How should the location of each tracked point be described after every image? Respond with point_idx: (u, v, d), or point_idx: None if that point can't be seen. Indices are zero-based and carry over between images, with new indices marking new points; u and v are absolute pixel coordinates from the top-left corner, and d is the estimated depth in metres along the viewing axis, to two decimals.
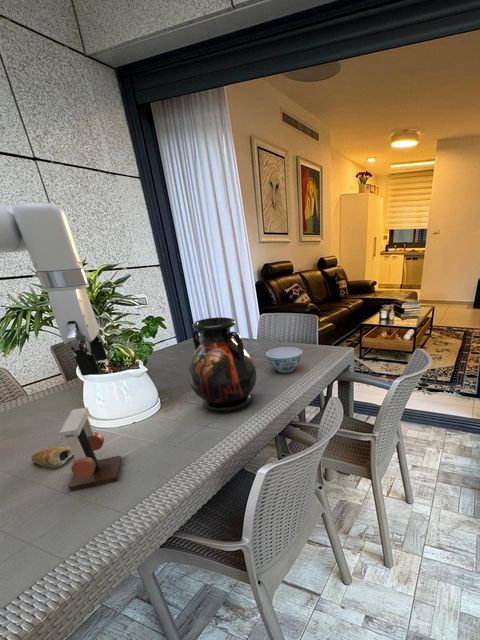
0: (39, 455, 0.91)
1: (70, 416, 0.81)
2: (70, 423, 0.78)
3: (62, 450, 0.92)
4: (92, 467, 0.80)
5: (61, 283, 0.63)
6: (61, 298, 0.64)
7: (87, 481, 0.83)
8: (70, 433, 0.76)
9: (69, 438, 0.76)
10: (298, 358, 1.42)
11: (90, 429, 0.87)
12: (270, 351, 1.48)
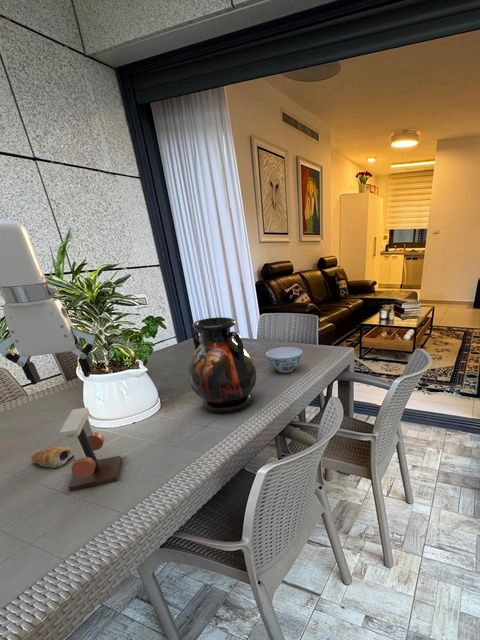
0: (39, 455, 0.91)
1: (70, 416, 0.81)
2: (70, 423, 0.78)
3: (62, 450, 0.92)
4: (92, 467, 0.80)
5: None
6: None
7: (87, 481, 0.83)
8: (70, 433, 0.76)
9: (69, 438, 0.76)
10: (298, 358, 1.42)
11: (90, 429, 0.87)
12: (270, 351, 1.48)
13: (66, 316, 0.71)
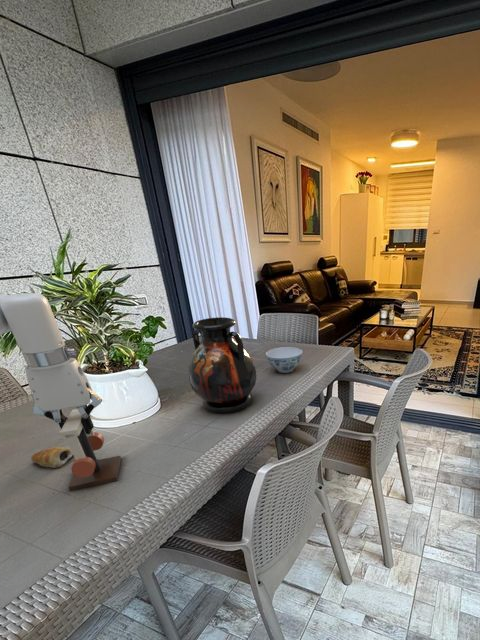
0: (39, 455, 0.91)
1: (70, 416, 0.81)
2: (70, 423, 0.78)
3: (62, 450, 0.92)
4: (92, 467, 0.80)
5: None
6: None
7: (87, 481, 0.83)
8: (70, 433, 0.76)
9: (69, 438, 0.76)
10: (298, 358, 1.42)
11: None
12: (270, 351, 1.48)
13: (82, 373, 0.77)
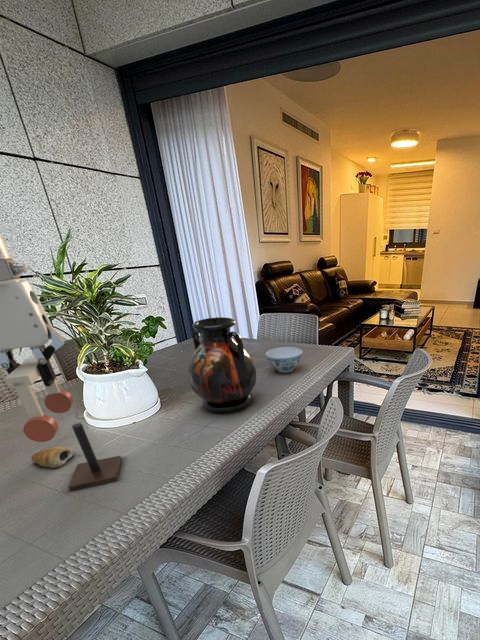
0: (39, 455, 0.91)
1: (24, 363, 0.62)
2: (22, 369, 0.59)
3: (62, 450, 0.92)
4: (52, 428, 0.60)
5: None
6: None
7: (87, 481, 0.83)
8: (20, 380, 0.56)
9: (19, 387, 0.57)
10: (298, 358, 1.42)
11: (54, 384, 0.68)
12: (270, 351, 1.48)
13: (37, 302, 0.58)
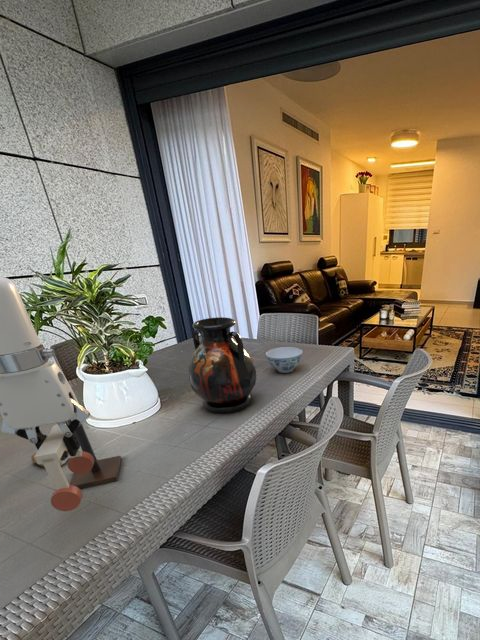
0: None
1: (50, 434, 0.65)
2: (49, 443, 0.62)
3: None
4: (77, 498, 0.63)
5: None
6: None
7: (87, 481, 0.83)
8: (48, 457, 0.59)
9: (47, 463, 0.60)
10: (298, 358, 1.42)
11: None
12: (270, 351, 1.48)
13: (64, 381, 0.61)
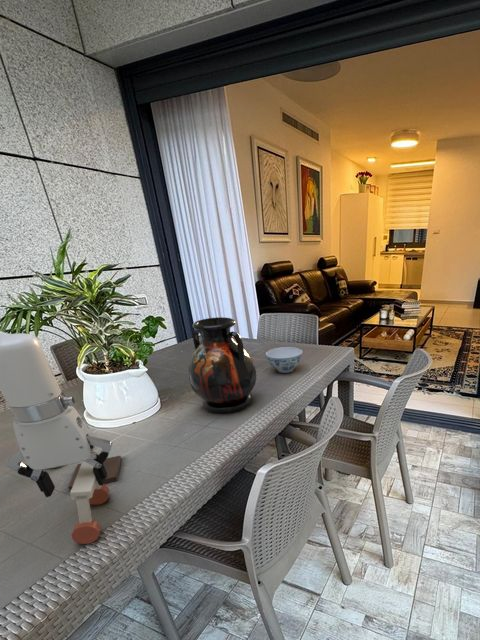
0: None
1: (82, 468, 0.70)
2: (83, 480, 0.67)
3: None
4: (97, 534, 0.68)
5: None
6: None
7: None
8: (82, 494, 0.64)
9: (79, 499, 0.64)
10: (298, 358, 1.42)
11: None
12: (270, 351, 1.48)
13: (81, 424, 0.65)
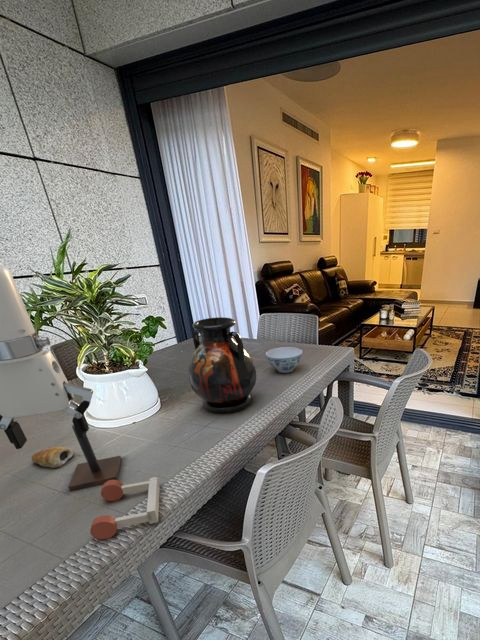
0: (39, 455, 0.91)
1: (156, 489, 0.77)
2: (157, 504, 0.74)
3: (62, 450, 0.92)
4: (105, 538, 0.69)
5: None
6: None
7: (87, 481, 0.83)
8: (153, 518, 0.71)
9: (146, 517, 0.71)
10: (298, 358, 1.42)
11: (132, 492, 0.79)
12: (270, 351, 1.48)
13: (58, 370, 0.60)
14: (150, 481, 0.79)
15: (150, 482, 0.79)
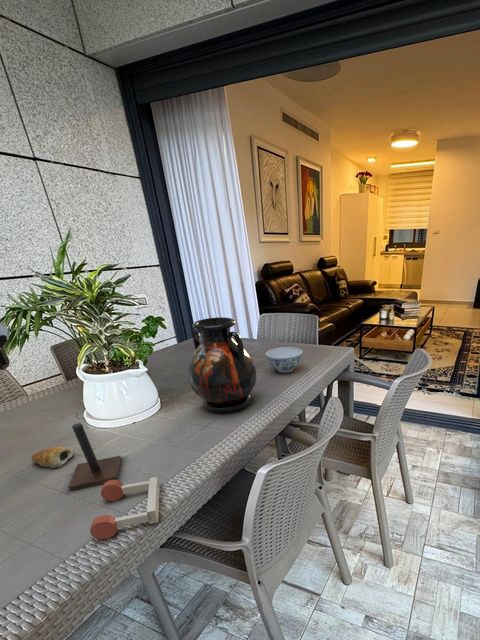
0: (39, 455, 0.91)
1: (156, 489, 0.77)
2: (157, 504, 0.74)
3: (62, 450, 0.92)
4: (105, 538, 0.69)
5: None
6: None
7: (87, 481, 0.83)
8: (153, 518, 0.71)
9: (146, 517, 0.71)
10: (298, 358, 1.42)
11: (132, 492, 0.79)
12: (270, 351, 1.48)
13: None
14: (150, 481, 0.79)
15: (150, 482, 0.79)
